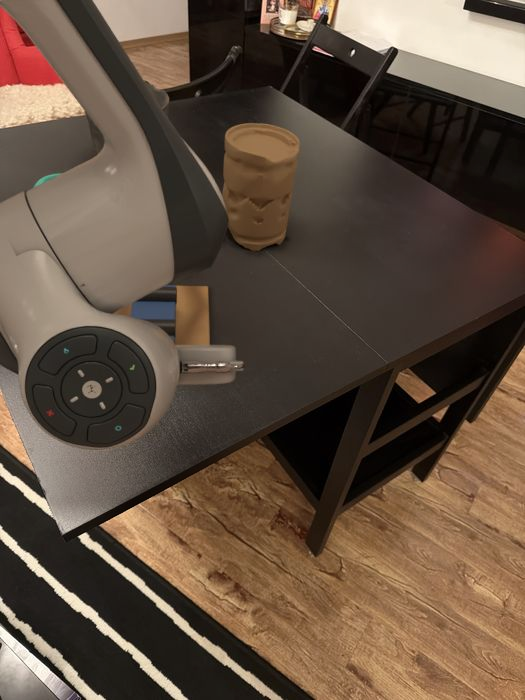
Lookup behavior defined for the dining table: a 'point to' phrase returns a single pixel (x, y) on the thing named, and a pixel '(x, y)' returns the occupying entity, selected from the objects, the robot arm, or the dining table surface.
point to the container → (259, 182)
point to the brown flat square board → (188, 315)
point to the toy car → (158, 309)
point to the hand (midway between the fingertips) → (144, 359)
